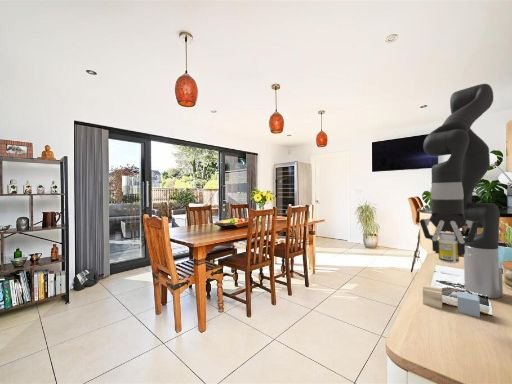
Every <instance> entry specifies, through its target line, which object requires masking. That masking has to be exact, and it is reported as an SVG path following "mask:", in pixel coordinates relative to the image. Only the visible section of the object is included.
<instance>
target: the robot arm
mask: <svg viewBox="0 0 512 384" xmlns="http://www.w3.org/2000/svg"><path fill="white" fill-rule="evenodd" d="M493 102H494V92H493V88H492V87H491V85H490V84H488V83H481V84H477V85H473V86H470V87H466V88H463V89H460V90H457V91H454V92H453V93H452V94H451V95H450V99H449V106H450V113H451V114H449V116H447V117H446V119H445V121H443V123H442V125H440V126H438V127H437V128H435V129H434V130H433V131H431V132H430V133H429V134H428V135H427V136H426V137H425V139H424V141H423V143H422V144H423V145H422V148H423V151H424V153H425V154H427V155H428V156H430V157H441V156H448V155H450V156H449V157H448V159H447V160H445V161H442V162H439V163H437V164H434V165H432V167H431V188H430V200H431V202H430V203H431V205H430V206H431V215H430V217H428V218H421V219H420V220H419V223H420V225H421V226H420V227H421V229H422V232H423V235H424V238H425V239H428V240H431V241H432V251H433V252H435V254H438V240H439V234H440V233H442V232H448V233H454V234H456V239H457V241H458V248H459V257H463V268H464V270H463V271H464V273H463V275H464V290H465V289H466V290H468V291H471V292H474V293H478V294H484V295H487V296H488V298H487V299H499V298H500V297H504V296H503V295H504V293H503V291H504V289H503V285H504V284H503V270H502V269H501V268H500V265H499V260H500V258H499V256H500V255H499V254H500V253H499V243H500V242H499V241H500V216H501V213H500V210H499V209H500V208H499V207H498V205H497V204H495V203H493V202H490V203H489V202H472V198H473V194H474V193H473V192H474V190H475V188H476V187H477V186H478V184H479V183H480V182H481V180H482V179H483V178H484V176H485V175H486V174H487V172H488V171H489V169H490V166H491V162H490V161H491V160H490V159H491V157H490V148H489V145H487V143H486V142H485V141H484V140H483V139H482V138H481V137H480V136H479V135H477V134H476V133H475V132H474V130H473V129H472V128H471V127H472V126H473V124H474V123H475V122H476V121H477V120H478V119H479V118H480V117H482V115H483V114H484V113H485V112H487V111H488V110H489V109H490V108H491V107H492V104H493ZM430 222H431V223H432V225H433V226H434V227H435V230H434V233H433V234H431V233H430V231H429V228H428V226H429V224H430ZM462 227H467V228H469V230H468V234H467V236H465V237H464V236H463V234H462V231H461V228H462ZM478 229H482V231H481V233H479V234H476V233H477V230H478ZM466 290H465V291H466Z"/></svg>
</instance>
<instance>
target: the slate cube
mask: <svg viewBox="0 0 512 384" xmlns="http://www.w3.org/2000/svg"><path fill="white" fill-rule="evenodd" d="M456 294H457V296H456V298H457V300H456V301H457V313H459V314H463V315H467V316H472V317H476V318H480V317H481V313H480V312H481V304H480V302H481V301H480V296H478V295H474V294H471V293H468V292H462V291H458V290H457V292H456Z"/></svg>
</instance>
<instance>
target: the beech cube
mask: <svg viewBox="0 0 512 384" xmlns="http://www.w3.org/2000/svg"><path fill="white" fill-rule="evenodd" d="M422 304H423V305H424V306H429V307H433V308H438V309H443V288H442V287H439V286H438V287H437V286H431V285H427V284H423V288H422Z"/></svg>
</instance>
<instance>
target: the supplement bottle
mask: <svg viewBox="0 0 512 384" xmlns="http://www.w3.org/2000/svg"><path fill="white" fill-rule="evenodd" d="M437 240H438V260H439V261H440V262H442V263H446V264H458V263H460V256H459V248H458V242H459V240H458V239H457V236H456V234H455V232H448V231H445V232H443V231H441V232H440V234H439V236H438V239H437Z"/></svg>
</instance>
